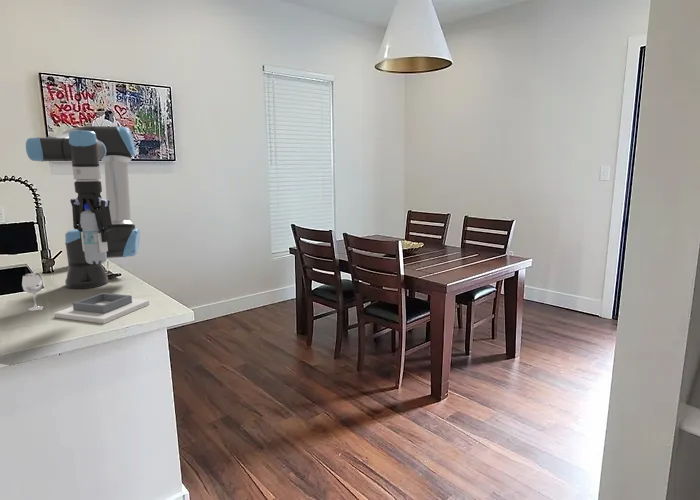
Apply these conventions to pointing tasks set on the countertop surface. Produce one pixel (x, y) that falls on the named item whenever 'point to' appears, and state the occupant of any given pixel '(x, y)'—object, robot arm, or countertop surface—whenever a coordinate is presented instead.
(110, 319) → the dock
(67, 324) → the countertop surface
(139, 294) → the countertop surface
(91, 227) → the bottle
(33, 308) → the wineglass
